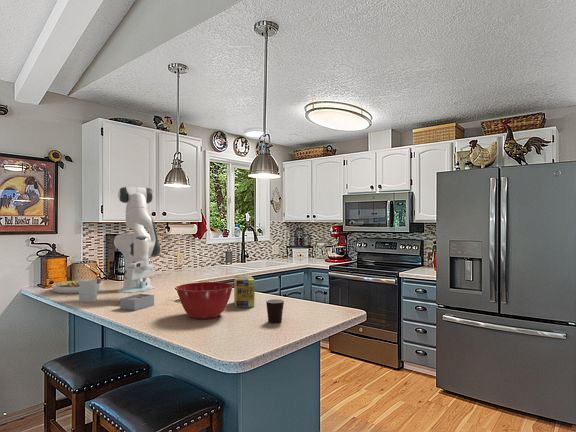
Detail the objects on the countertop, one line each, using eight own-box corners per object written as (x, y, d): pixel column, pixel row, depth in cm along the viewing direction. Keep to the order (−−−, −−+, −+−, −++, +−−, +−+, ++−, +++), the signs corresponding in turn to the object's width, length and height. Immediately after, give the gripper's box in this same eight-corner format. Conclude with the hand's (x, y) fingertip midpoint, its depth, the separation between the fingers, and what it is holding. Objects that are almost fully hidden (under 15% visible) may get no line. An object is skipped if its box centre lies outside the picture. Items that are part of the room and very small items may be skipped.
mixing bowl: (172, 312, 208) (172, 283, 208) (225, 307, 219) (225, 280, 220) (180, 325, 182) (180, 292, 182) (239, 319, 193) (239, 288, 194)
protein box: (236, 308, 219) (236, 280, 219) (234, 302, 234) (234, 276, 234) (254, 307, 221) (254, 279, 221) (251, 301, 236) (251, 275, 236)
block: (139, 304, 223) (139, 295, 223) (145, 304, 222) (145, 296, 222) (136, 305, 220) (136, 296, 220) (141, 305, 219) (141, 297, 219)
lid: (136, 287, 243) (136, 280, 243) (150, 288, 239) (150, 281, 239) (117, 292, 228) (117, 284, 228) (131, 293, 224) (131, 285, 224)
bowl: (49, 296, 249) (49, 284, 249) (55, 288, 276) (55, 277, 277) (101, 293, 261) (101, 281, 261) (102, 285, 289) (102, 275, 289)
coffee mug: (277, 325, 184) (277, 303, 184) (262, 322, 189) (262, 301, 189) (290, 319, 194) (290, 299, 194) (275, 317, 198) (276, 297, 199)
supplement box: (97, 299, 239) (97, 278, 239) (90, 302, 231) (90, 280, 231) (85, 299, 239) (86, 278, 240) (78, 301, 232) (78, 280, 232)
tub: (140, 303, 227) (140, 293, 227) (154, 305, 224) (154, 294, 224) (120, 309, 213) (120, 298, 214) (134, 311, 210) (134, 299, 210)
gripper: (149, 261, 250) (148, 283, 249) (124, 264, 231) (124, 288, 230) (156, 261, 247) (156, 283, 247) (132, 265, 228) (132, 288, 228)
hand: (140, 285), depth 239 cm, fingers closed on lid, 2 cm apart
